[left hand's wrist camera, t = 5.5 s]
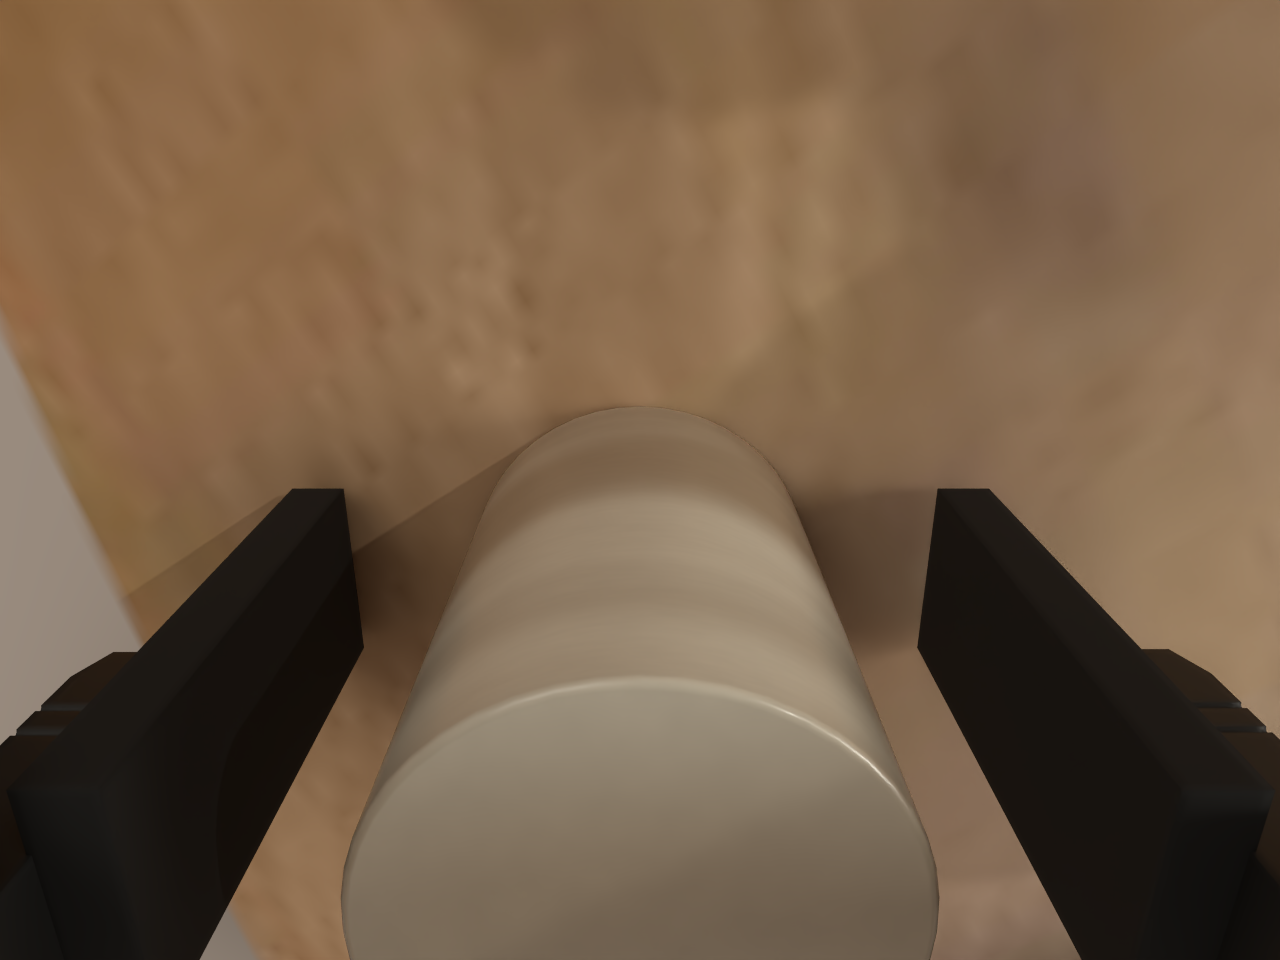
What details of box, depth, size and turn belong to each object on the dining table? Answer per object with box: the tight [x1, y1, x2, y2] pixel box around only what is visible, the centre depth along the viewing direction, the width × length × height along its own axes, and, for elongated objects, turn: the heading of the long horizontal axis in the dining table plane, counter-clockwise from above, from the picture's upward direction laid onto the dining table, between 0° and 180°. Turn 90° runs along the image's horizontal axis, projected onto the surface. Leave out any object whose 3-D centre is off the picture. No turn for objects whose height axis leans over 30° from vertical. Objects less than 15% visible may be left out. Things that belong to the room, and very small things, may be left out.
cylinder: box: [341, 406, 939, 960], centre depth 11 cm, size 5×5×7 cm
